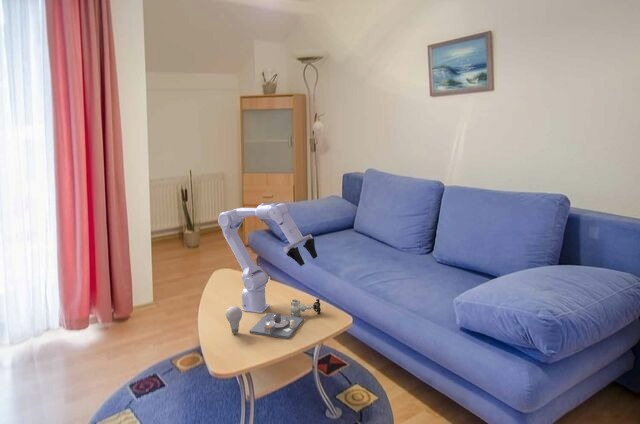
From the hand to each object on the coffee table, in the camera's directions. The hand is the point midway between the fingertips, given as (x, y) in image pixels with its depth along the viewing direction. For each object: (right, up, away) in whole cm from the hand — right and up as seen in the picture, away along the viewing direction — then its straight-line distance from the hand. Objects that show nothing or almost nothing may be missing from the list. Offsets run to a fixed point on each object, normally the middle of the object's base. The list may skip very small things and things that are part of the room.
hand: (309, 261), depth 175 cm
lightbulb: (-28, -27, -3) cm, 39 cm away
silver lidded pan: (-13, -25, -1) cm, 28 cm away
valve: (-2, -24, +12) cm, 26 cm away
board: (-12, -26, +2) cm, 29 cm away
